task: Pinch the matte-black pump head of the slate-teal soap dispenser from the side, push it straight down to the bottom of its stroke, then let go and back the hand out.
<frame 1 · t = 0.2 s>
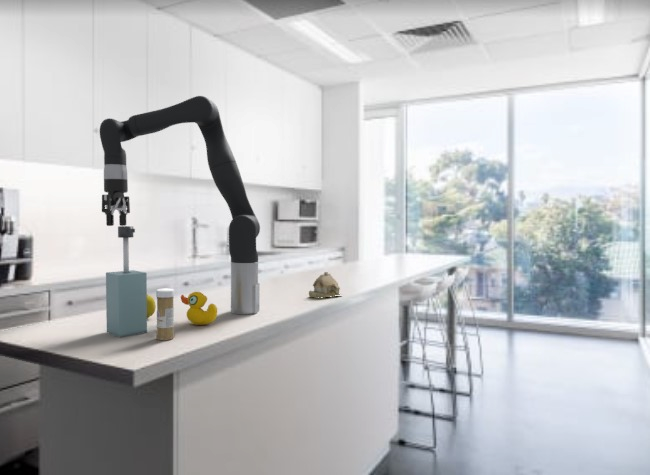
hand: (116, 225, 171), 29 cm above the countertop, tool pointing down, fingers open, 8 cm apart
sprinkles bottle: (165, 339, 134), on the countertop
lemon: (146, 319, 157), on the countertop
pump: (127, 252, 138), point 23 cm above the countertop, slide at 0.0 cm
duckling: (199, 325, 151), on the countertop
ceramic model: (325, 297, 203), on the countertop
dispenser: (126, 332, 140), on the countertop
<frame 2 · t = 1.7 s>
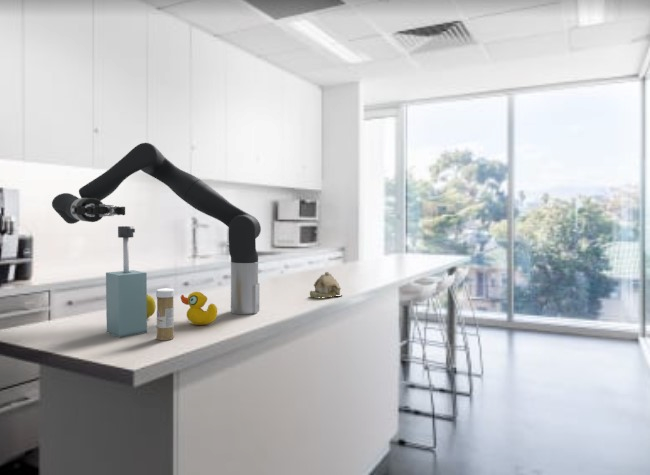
hand: (109, 211, 146), 34 cm above the countertop, tool horizontal, fingers open, 8 cm apart
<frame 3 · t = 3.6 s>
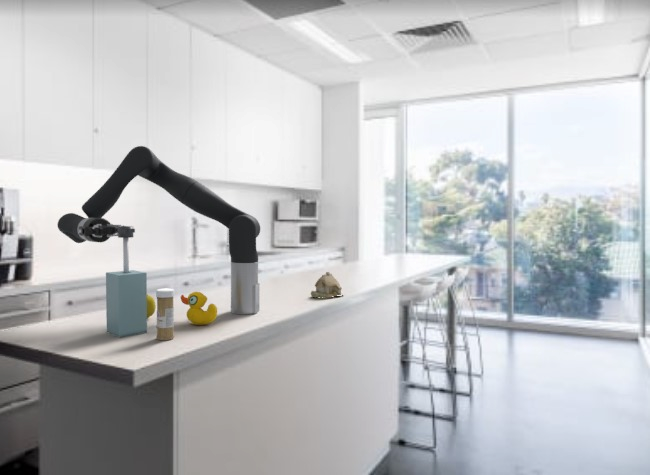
hand: (117, 231, 143), 28 cm above the countertop, tool horizontal, fingers open, 8 cm apart
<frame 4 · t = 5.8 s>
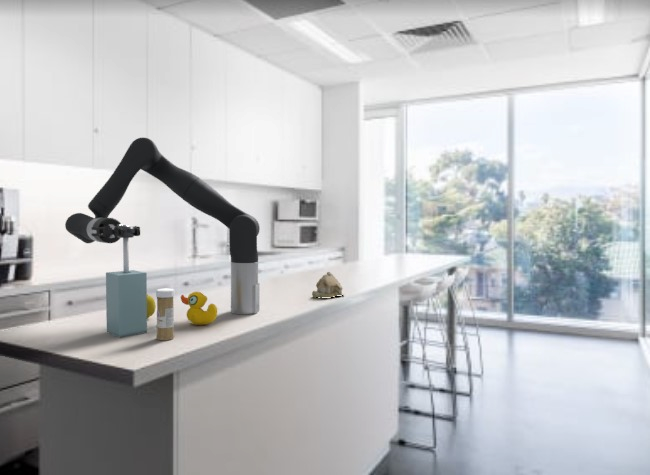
hand: (130, 232, 137), 28 cm above the countertop, tool horizontal, fingers closed on pump, 4 cm apart
pump: (127, 252, 138), point 23 cm above the countertop, slide at 0.0 cm, touching gripper
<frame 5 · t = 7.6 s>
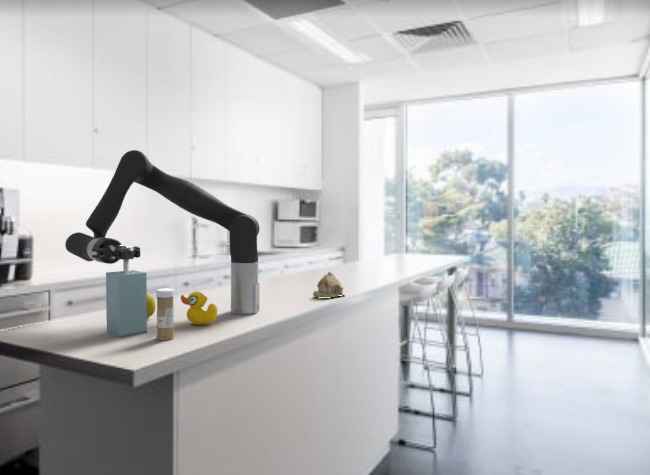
hand: (130, 254, 137), 22 cm above the countertop, tool horizontal, fingers closed on pump, 4 cm apart
pump: (128, 274, 138), point 17 cm above the countertop, slide at 6.1 cm, touching gripper
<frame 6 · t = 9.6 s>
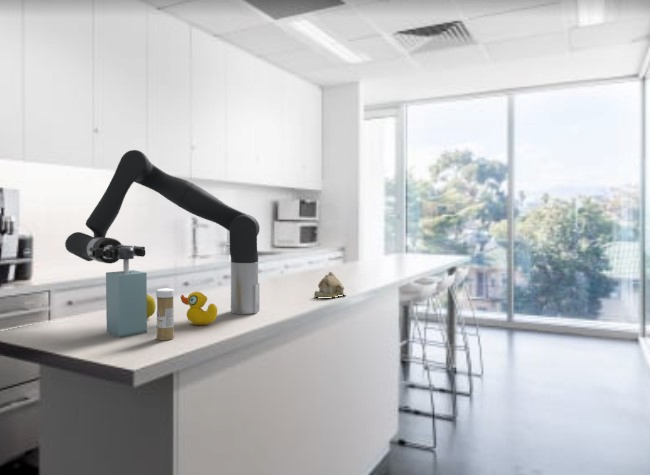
hand: (128, 253, 138), 23 cm above the countertop, tool horizontal, fingers open, 8 cm apart
pump: (128, 274, 138), point 17 cm above the countertop, slide at 6.0 cm
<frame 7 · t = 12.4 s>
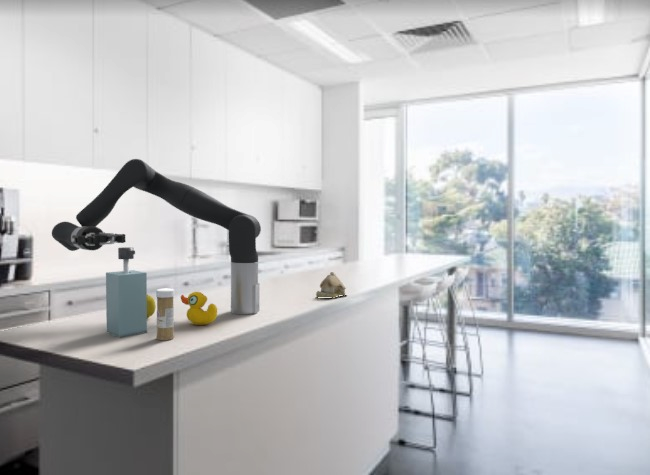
hand: (109, 239, 146), 26 cm above the countertop, tool horizontal, fingers open, 8 cm apart
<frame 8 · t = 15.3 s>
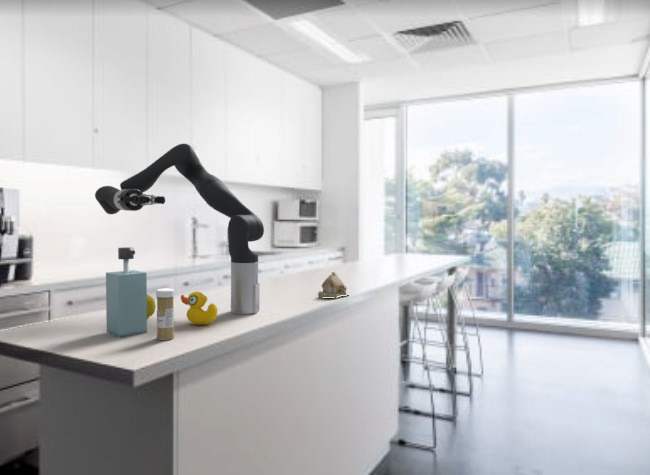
hand: (151, 199, 161), 38 cm above the countertop, tool horizontal, fingers open, 8 cm apart
at the end: pump slide at 6.0 cm; sprinkles bottle moved 0.2 cm from its start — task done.
